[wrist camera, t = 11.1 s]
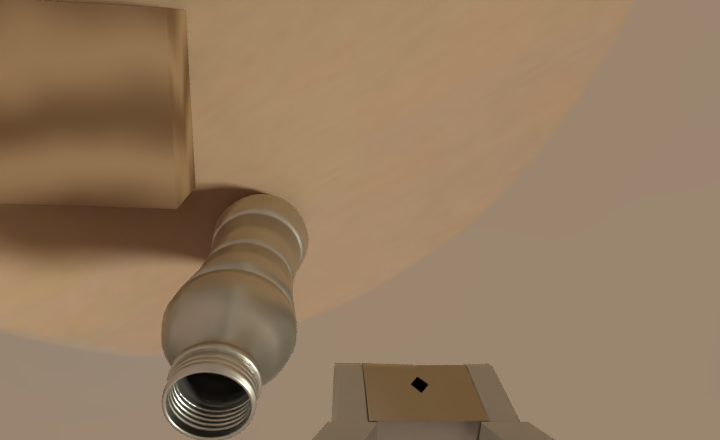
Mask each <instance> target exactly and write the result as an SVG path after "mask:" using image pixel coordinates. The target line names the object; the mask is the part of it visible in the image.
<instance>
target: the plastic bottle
mask: <svg viewBox="0 0 720 440" xmlns="http://www.w3.org/2000/svg"><path fill="white" fill-rule="evenodd" d="M307 249H308V234H307V229H306V226H305V224H304V221H303V219H302V217H301V215H300V214H299V212H298V211H297V210H296V209H295V208H294V207H293V206H292V205H291V204H290V203H288V202H287V201H285V200H283V199H281V198H279V197H276V196H272V195H266V194H256V195H250V196H246V197H243V198H241V199H239V200H238V201H236V202H234V203H233V204H231V205H230V206H229V207H228V208H226V209H225V210H224V211H223V212H222V214H221V215H220V216H219V217H218V220H217V222H216V224H215V227H214V232H213V236H212V246H211V249H210V252H209V256H208V258H207V259H206V261H205V262H204V263H203V265H202V266H201V268H200V269H199V270H198V271H197V272H196V273H195V274H194V275H193V276H192V277H191V278H190V279H189V280H188V281H187V282H186V283H185V284H184V285H183V286H182V287H181V288H180V290H179V291H178V292H177V293H176V295H175V296H174V297H173V299H172V300H171V301H170V303H169V304H168V306H167V308H166V310H165V312H164V315H163V320H162V330H161V337H162V348H163V351H164V354H165V357H166V359H167V360H168V362H169V364H170V366H171V369H170V371H169V374H168V379H167V380H168V382H167V384H166V386H165V389H164V392H163V396H162V410H163V413H164V416H165V417H166V419H167V421H168V422H169V423H170V424H171V425H172V426H173V427H174V428H175V429H176V430H177V431H179V432H180V433H182V434H184V435H186V436H188V437H191V438H194V439H197V440H224V439H227V438H231V437H233V436H235V435H237V434H239V433H240V432H241V431H243V430H244V429H245V428H246V427H247V426H248V425H249V424H250V422H251V420H252V418H253V415H254V413H255V410H256V405H257V400H258V398H259V396H260V392H261V388H262V386H263V385H265V384H267V383H268V382H269V381H271V380H272V379H274V378H275V377H276V376H277V375H278V373H279V372H280V371H281V370H282V369H283V367H284V366H285V365H286V363H287V362H288V360H289V358H290V356H291V354H292V353H293V351H294V347H295V344H296V333H297V330H296V329H297V321H296V315H295V309H294V302H293V281H294V278H295V275H296V272H297V270H298V269H299V267H300V266H301V264H302V262H303V260H304V258H305V255H306V252H307Z"/></svg>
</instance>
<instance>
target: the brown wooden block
mask: <svg viewBox="0 0 720 440" xmlns="http://www.w3.org/2000/svg"><path fill="white" fill-rule="evenodd" d="M194 188H195V171H194V153H193V136H192V118H191V100H190V83H189V65H188V47H187V30H186V12H185V10H179V9H171V8H161V7H144V6H128V5H111V4H94V3H77V2H60V1H43V0H0V204H30V205H62V206H94V207H127V208H159V209H178V207H179V206H180V205H181V204H182V202H183V201H184V200H185V199H186V198H187V196H188V195H189V194H190V193H191V191H192V190H193V189H194Z"/></svg>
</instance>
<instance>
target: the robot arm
mask: <svg viewBox="0 0 720 440" xmlns="http://www.w3.org/2000/svg"><path fill="white" fill-rule="evenodd" d="M333 382H334V383H333V402H332V403H333V404H332V422H328V423H327V424H326V425H325V426H324V427H323V428H322V430H320V431H319V433H318V434H317V435H316V436H315V437H314V438H313V439H312V440H554V439H553V438H551V437H549V436H548V435H547V434H545V433H544V432H542V431H541V430H539V429H538V428H536V427H535V426H533V425H532V424H530V423H529V422H520V420H519V418H518V416H517V415H516V412H515V410H514V408H513V406H512V404H511V402H510V400H509V398H508V396H507V394H506V392H505V390H504V388H503V387H502V384H501V383H500V381H499V378H498V377H497V374H496V373H495V371H494V369H493V367H492V366H491V365H490V364H464V365H405V364H370V363H362V365H361V364H360V363H335V366H334V381H333Z"/></svg>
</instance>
